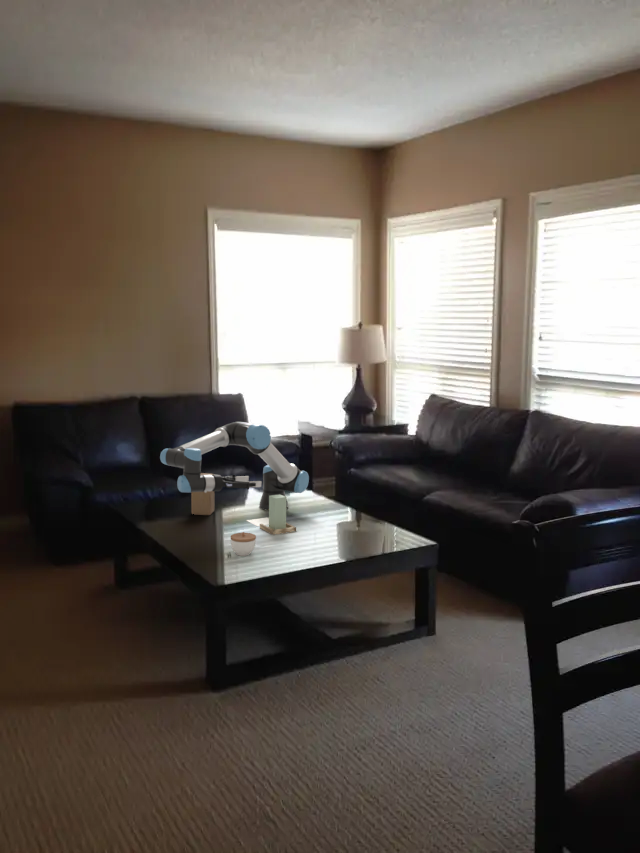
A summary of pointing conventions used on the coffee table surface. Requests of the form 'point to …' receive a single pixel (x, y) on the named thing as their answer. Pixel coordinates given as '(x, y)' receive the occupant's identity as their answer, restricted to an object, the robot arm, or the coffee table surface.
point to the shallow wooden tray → (278, 531)
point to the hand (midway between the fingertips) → (254, 481)
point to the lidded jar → (243, 543)
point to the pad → (259, 521)
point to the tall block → (277, 512)
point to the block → (203, 501)
